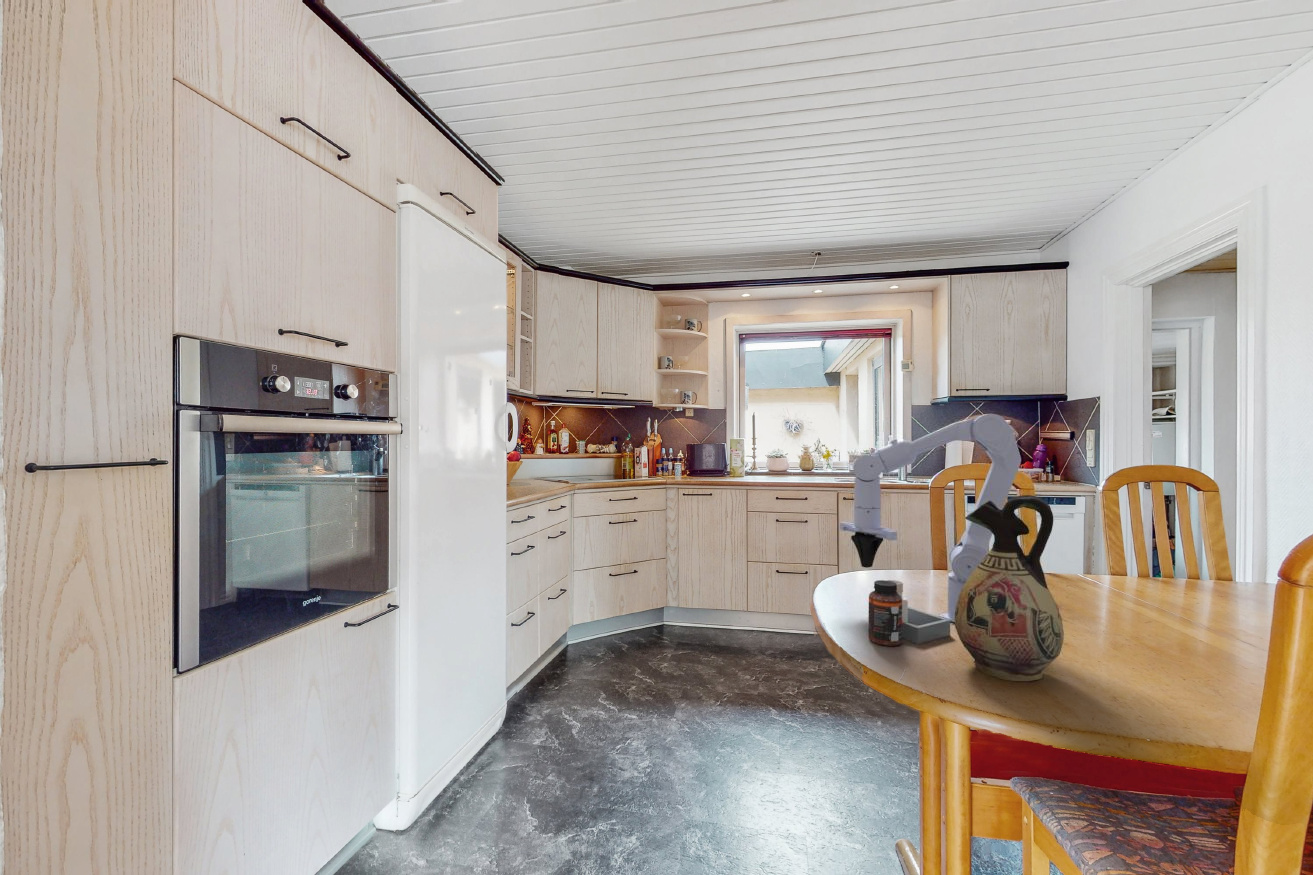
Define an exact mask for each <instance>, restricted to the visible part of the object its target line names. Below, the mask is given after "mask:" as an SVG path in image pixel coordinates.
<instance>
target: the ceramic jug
mask: <svg viewBox="0 0 1313 875" xmlns="http://www.w3.org/2000/svg"><path fill="white" fill-rule="evenodd" d="M1021 508H1026V509H1029V510H1034V511H1035V512H1037V513H1038V514H1039V515H1040V519H1041V520H1040V525H1039V529H1038V532H1037V534H1036V538H1035V541H1034V543H1033V544H1032V546H1031V548H1030V550H1029V553H1028V554H1027V555H1026V554H1025V552H1024V550H1023V549H1022V547H1021V545H1020V543H1019V540H1018V537H1019V536H1023V535H1024V536H1025V535H1028V534H1030V529H1029V526H1028V525H1027V524H1026V523H1025V522H1024V521H1023V520H1022V518H1020V517H1019V516H1017V515H1016V513H1015V511H1016V510H1017V509H1021ZM964 519H965V520H966V521H968V522H969V521H971V522H974V523H976V524H979V525H981V526H983V527H985V528H987V529H989V530H990V531H991V532H992V533H993V534H992V536H994V537H993V539H994V541H993V543H992V547H991V549H990V550H989V551H988V553H987V555H986V556H985V558H984V559H983V560H982V561H981V562H980V563H979V565H978V566H977V567H976V568H975V570H974V571H973V572H972V574H971V575H970V577H969V578H968V579H967V580H966V582H965V584H964V586H963V588H962V590H961V593H960V595H959V598H958V602H957V606H956V610H955V622H954V624H955V625H954V626H955V629H956V633H957V636H958V638H959V640H960V642H961V644H962V645H963V647H964V648H965V649H966V650H967V651H968V653H969V654H970V655H971V657H972V659H973V660H974V661H973V663H974V666H975V667H976V669H978V671H980V672H982V673H984V674H986V675H988V676H991V677H994V678H998V679H1000V680H1006V681H1012V682H1031V681H1037V680H1040V679H1043V676H1044V675H1043V674H1042V671H1043V670H1045V669H1046V668H1047V667H1048V666H1049V665H1050V664H1051V663H1052V662H1054V661H1055V660H1056V659H1057V658H1059V657H1060V654H1061V652H1062V648H1063V644H1064V639H1065V636H1064V635H1065V633H1064V632H1065V630H1064V626H1063V625H1064V624H1063V618H1062V615H1061V612H1060V608H1059V607H1058V604H1057V603H1056V600H1055V599H1054V596H1053V595H1052V592H1051V590H1050V589H1049V587H1048V584H1047V581H1046V576H1045V573H1044V570H1043V567H1042V564H1041V562H1040V561H1041V557H1042V555H1043V552H1044V550H1046V546H1047V543H1048V541H1049V538H1050V536H1051V534H1052V531H1053V527H1054V514H1053V510H1052V508H1051V506H1050V504H1049V503H1048V502H1047V501H1045V500H1044V499H1042V498H1040V497H1038V496H1036V495H1030V494H1023V495H1017V496H1014V497H1012V498H1010V499H1008V501H1006V502H1005V504H1004V506H1003V509H1002V510H1000V509H998V508H997V507H996V505H995V504H994V503H993V502H992V501H988V502H986V503H985V504H983V505H981V506H980V507H979V508H978V509H976V510H975V511H974V512H973V511H972V512H970V513H969V514H968V515H967V516H965V517H964Z"/></svg>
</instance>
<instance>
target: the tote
mask: <svg viewBox="0 0 1313 875" xmlns="http://www.w3.org/2000/svg"><path fill="white" fill-rule="evenodd" d="M948 636H951V621H950V620H948V619H945V618H942V617H939V616H938V615H935V614H932V613H929V612H926V611H923V610H920V609H916V608H913V607H910V606H908V623H907V622H904V621H902V639H904V640H907V641H910V642H911V643H912V642H913V643H914V644H917V645H919V644H924V643H926V642H930V641H934V640H939V639H941V638H945V637H948Z"/></svg>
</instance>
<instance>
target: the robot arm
mask: <svg viewBox="0 0 1313 875" xmlns="http://www.w3.org/2000/svg"><path fill="white" fill-rule="evenodd" d="M972 440H973V441H975V443H977V444H978V445H979V446H980V447H982V448H983V449H984V451H985V453H986V454H987V456H988V458H989V459H990V461H991V466H990V468H989V469H988V470H989V471H987V472H988V473H987V475H986V477H985V480H984V483H983V486H982V488H981V490H980V493H979V495H978V498H977V499H976V503H975V506H974V508H973V511H972V512H974V511H975V510H976V509H978V508H979V507H980V506H981V505H983V504H985V503H986V502H988V501H992V502H993V503H994V504H995V505H996V507H997V508H998V509H1000V510H1002V509H1003V507H1004V505H1005V504H1006V502H1007V498H1008V496H1009V494H1010V491H1011V488H1012V486H1013V483H1014V481H1015V479H1016V476H1017V473H1018V471H1019V468H1020V466H1021V462H1022V457H1021V454H1020V451H1019V447H1018V443H1017V440H1016V437H1015V432H1014V429H1013V428H1012V426H1011V425H1010V424H1009V423H1008V421H1006V420H1005V418H1004V417H1002V416H1001V415H999V414H995V413H986V414H983V415H982V414H981V415H979V416H977V417H973V418H970V419H965V420H961V421H957V422H954V423H950V424H949V425H947V426H944V427H942V428H940V429H938V430H935V431H933V432H931V433H929V434H926V435H924V436H922V437H919V438H917V439H915V440H913V441H909V440H908V439H907V440H906V439H904V438H901V439H899V440H897V438H894V439H892V440H891V441H890V443H889V444H888V445H884V446H883V447H880V448H877V449H875V448H873V449H870V454H867V453H866V454H862V455H861V456H859V457H858V458H856V460H855V461H854V463H853V465H852V466H853V472H854V475H855V478H854V487H853V502H854V503H853V522H850V521H840V522H839V531H842V532H844V531H845V532H850V533H854V534H853V535H851V536H850V538H851V539H850V540H851V541H852V542H853V545H854V546H855V548H856V550H857V554H858V558H859V561H860V566H861V567H863V568H865V569H866V568H868V569H869V568H873V564H874V561H875V557H876V555H877V552H878V550H879V548H880V546H881V544H882V543H883V541H884V539H885V540H887V541H898V531H897V530H893V529H891V528H887V527H884V526H882V525H881V524H882V523H881V521H882V520H881V519H882V517H881V516H882V515H881V512H882V510H881V509H882V505H881V504H882V500H881V499H882V496H881V495H882V489H881V485H880V483H881V482H880V480H881V477H880V475H881V473H884V474H889V473H892V472H894V471H897V470H900V469H902V468H905V467H906V466H910V465H911V464H914V463H915V461H916V460H917V456H918V455H919V454H922V453H926V452H928V451H930V450H934V449H936V448H939V447H941V446H944V445H946V444H949V443H952V442H954V441H955V442H956V441H958V442H960V441H961V442H972ZM992 537H993V533H992V532H991V531H990V530H989V529H987V528H985V527H983V526H981V525H979V524H976V523H974V522H971V521H969V520H968V524H967V527H966V528H965V531H964V532H963V534H962V535H961V538H960V540H959V541H958V543H957V544H956V545H955V546H953V548H952V549H951V550H950V552H949V556H948V557H949V562H950V564H951V569H952V570H951V571H950V572H949V573H948V574H947V612H946V613H941V614H938V615H937V616H939V617H942V618H945V619H948V620H950V622H951V623H955V610H956V606H957V602H958V598H959V595H960V593H961V590H962V588H963V586H964V584H965V582H966V580H967V579H968V578H969V577H970V575H971V574H972V572H973V571H974V570H975V568H976V567H977V566H978V565H979V563H980V562H981V561H982V560H983V559H984V558H985V556H986V555H987V554H988V553H989V548H990V541H991V539H992Z"/></svg>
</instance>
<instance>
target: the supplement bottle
mask: <svg viewBox="0 0 1313 875" xmlns="http://www.w3.org/2000/svg"><path fill="white" fill-rule="evenodd" d="M873 589H874V590H872V591H871V592H870V593H869V594H868V632H867V633H868V639H869V641H871V642H873V643H874V644H876V645H880V646H881V645H882V646H884V647H885V646H886V647H895V646H899V645H901V643H902V641H903V640H902V639H903V638H902V598H901V596H900V595H899V594H898V593H897V584H896V583H895V582H892V581H887V580H885V579H883V580H882V579H881V580H880V579H878V580H875V581H874V582H873Z"/></svg>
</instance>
